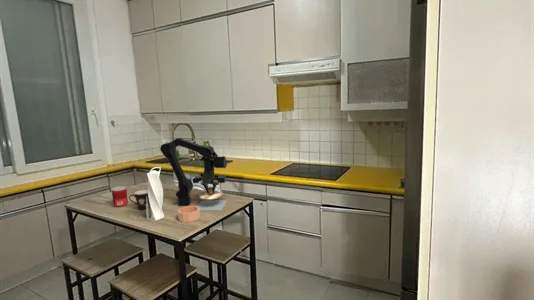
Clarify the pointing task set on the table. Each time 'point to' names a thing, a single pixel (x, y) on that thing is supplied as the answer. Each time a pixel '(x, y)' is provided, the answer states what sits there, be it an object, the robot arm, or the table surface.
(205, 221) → the table surface
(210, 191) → the lid
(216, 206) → the mat
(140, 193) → the coffee mug
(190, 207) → the bowl
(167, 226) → the table surface
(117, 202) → the canned food
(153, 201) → the skyscraper
